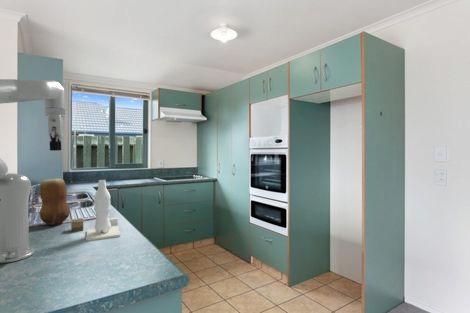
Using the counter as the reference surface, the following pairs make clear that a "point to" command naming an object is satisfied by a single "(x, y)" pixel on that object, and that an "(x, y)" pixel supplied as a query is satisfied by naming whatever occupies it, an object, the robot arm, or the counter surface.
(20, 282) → the counter surface
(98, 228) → the water bottle
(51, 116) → the robot arm
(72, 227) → the walnut block
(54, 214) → the butternut squash
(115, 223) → the pale grey block
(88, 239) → the placemat
